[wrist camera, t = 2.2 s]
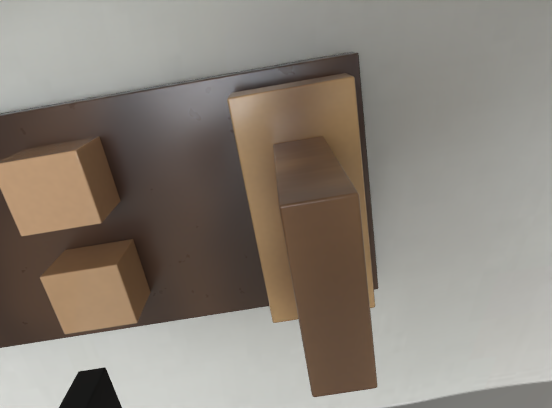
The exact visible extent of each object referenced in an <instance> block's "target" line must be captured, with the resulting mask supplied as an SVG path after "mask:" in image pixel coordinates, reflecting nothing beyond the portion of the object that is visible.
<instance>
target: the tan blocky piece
mask: <svg viewBox="0 0 552 408" xmlns="http://www.w3.org/2000/svg"><path fill="white" fill-rule="evenodd" d="M40 279H41V282H42V284H43V286H44V288H45V291H46V293H47V295H48V298H49V300H50V302H51V304H52V307H53V309H54V311H55V313H56V316H57V318H58V320H59V322H60V325H61V327H62V329H63V331H64V334H71V333H77V332H84V331H90V330H96V329H103V328H109V327H115V326H122V325H128V324H135V323H137V322H138V320H139V318H140V315H141V313H142V311H143V309H144V306H145V304H146V302H147V300H148V297H149V295H150V293H151V292H150V289H149V286H148V283H147V280H146V277H145V274H144V271H143V268H142V264H141V261H140V258H139V255H138V252H137V249H136V246H135V243H134V240H133V239H130V240H124V241H117V242H111V243H105V244H99V245H93V246H87V247H81V248H75V249H69V250H64V252H63V253H62V254H61V255H60V256H59V257H58V258H57V259H56V260H55V261H54V262H53V263H52V264H51V266H50V267H49V268H48V269H47V270H46V271H45V272H44V273H43V274H42V275H41V276H40Z"/></svg>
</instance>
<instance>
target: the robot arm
mask: <svg viewBox="0 0 552 408" xmlns="http://www.w3.org/2000/svg"><path fill="white" fill-rule="evenodd" d="M59 408H122V407H121V404H120V402H119V400H118V397H117V395H116V392H115V390H114V387H113V385H112V382H111V380H110V378H109V375H108V373H107V370H106V368H99V369H93V370H86V371H80V372H78V374H77V376H76V377H75V379H74V381H73V383H72V385H71V387H70V388H69V390H68V392H67V394H66V396H65V398H64V399H63V401H62V403H61V405H60V407H59Z"/></svg>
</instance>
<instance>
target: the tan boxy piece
mask: <svg viewBox="0 0 552 408" xmlns="http://www.w3.org/2000/svg"><path fill="white" fill-rule="evenodd" d="M0 189H1V191H2V193H3V196H4V198H5V200H6V203H7V205H8V207H9V209H10V212H11V214H12V216H13V218H14V221H15V223H16V225H17V227H18V230H19V232H20V234H21V236H28V235H34V234H40V233H46V232H52V231H58V230H64V229H70V228H76V227H82V226H88V225H94V224H100V223H102V222H103V221H104V220H105V219H106V218H107V216H108V215H109V214H110V213H111V212H112V211H113V210H114V208H115V207H116V206H117V205H118V204H119V203H120V198H119V195H118V192H117V189H116V186H115V182H114V179H113V176H112V173H111V170H110V167H109V164H108V161H107V158H106V155H105V152H104V149H103V146H102V143H101V140H100V137H93V138H87V139H81V140H75V141H69V142H64V143H58V144H52V145H46V146H40V147H35V148H29V149H24V150H22V151H20V152H18V153H15V154H13V155H11V156H9V157H7V158H5V159H3V160H0Z"/></svg>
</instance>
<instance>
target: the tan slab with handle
mask: <svg viewBox="0 0 552 408" xmlns="http://www.w3.org/2000/svg"><path fill="white" fill-rule="evenodd" d="M227 101H228V106H229V111H230V116H231V120H232V125H233V130H234V135H235V140H236V145H237V150H238V155H239V159H240V164H241V169H242V174H243V179H244V184H245V189H246V194H247V198H248V203H249V208H250V213H251V218H252V223H253V228H254V233H255V237H256V242H257V247H258V252H259V257H260V262H261V267H262V272H263V276H264V281H265V286H266V291H267V296H268V301H269V306H270V311H271V315H272V320H273V323H277V322H283V321H290V320H296V319H299V324H300V330H301V335H302V341H303V347H304V352H305V358H306V364H307V369H308V375H309V381H310V386H311V392H312V395H313V397H318V396H325V395H332V394H339V393H345V392H352V391H359V390H366V389H372V388H376V387H377V376H376V366H375V356H374V345H373V335H372V324H371V314H370V308H373V307H375V299H374V288H373V277H372V266H371V255H370V244H369V233H368V222H367V211H366V199H365V188H364V177H363V166H362V155H361V144H360V133H359V122H358V111H357V100H356V88H355V78H354V76H351V75H349V74H347V73H343V74H337V75H331V76H326V77H320V78H314V79H308V80H303V81H297V82H291V83H285V84H280V85H274V86H268V87H263V88H257V89H251V90H245V91H240V92H234V93H231V94H230V95H229V97H228V99H227Z"/></svg>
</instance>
